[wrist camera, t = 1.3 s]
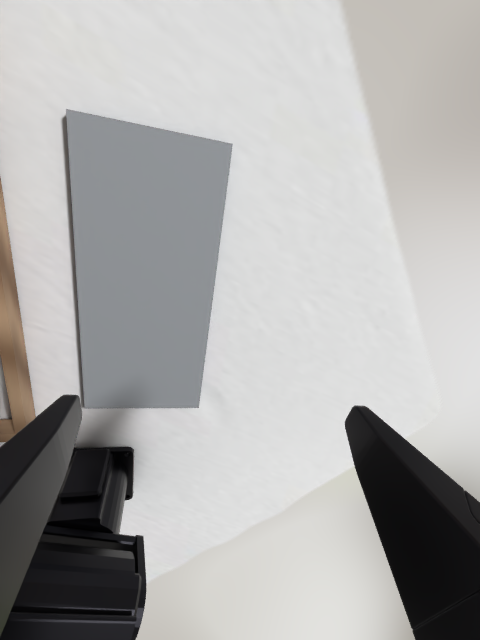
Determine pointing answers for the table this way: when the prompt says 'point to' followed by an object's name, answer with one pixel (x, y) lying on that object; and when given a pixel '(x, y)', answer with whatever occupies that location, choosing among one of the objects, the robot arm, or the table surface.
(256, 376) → the table surface
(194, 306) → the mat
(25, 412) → the organizer
